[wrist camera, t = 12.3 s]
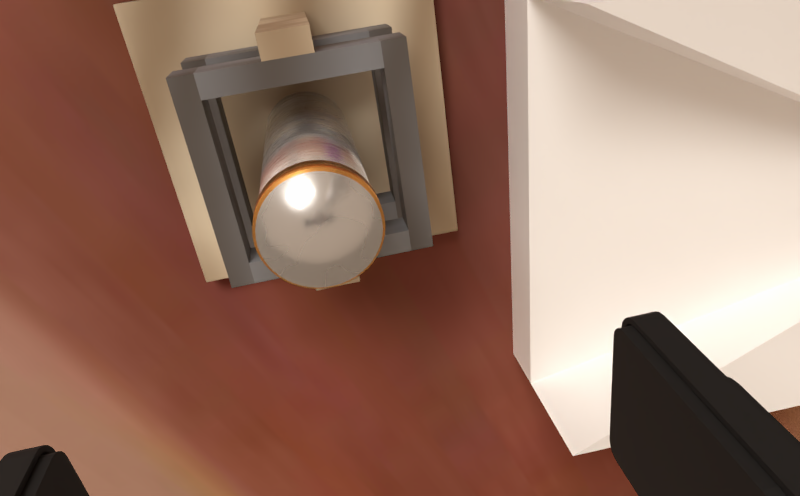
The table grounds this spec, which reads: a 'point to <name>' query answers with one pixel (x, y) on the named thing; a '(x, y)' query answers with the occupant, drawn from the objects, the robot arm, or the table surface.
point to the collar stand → (276, 79)
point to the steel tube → (314, 197)
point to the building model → (653, 192)
